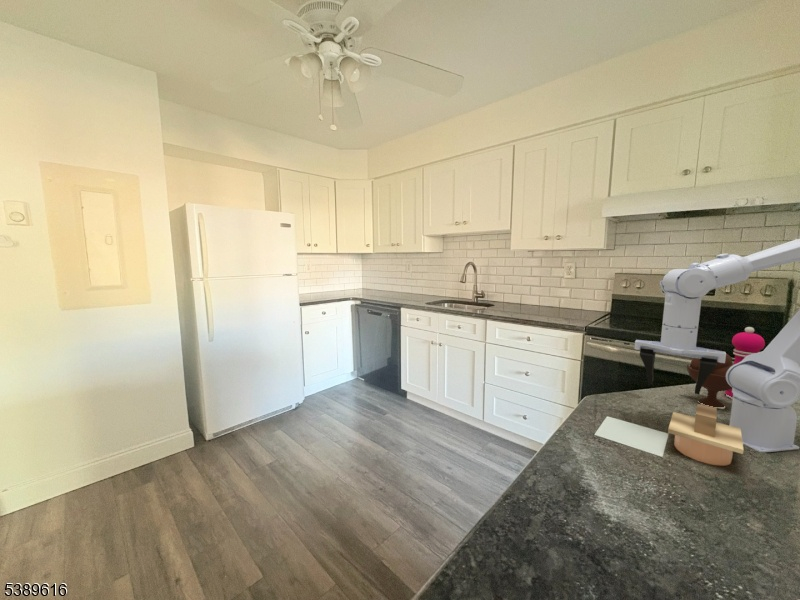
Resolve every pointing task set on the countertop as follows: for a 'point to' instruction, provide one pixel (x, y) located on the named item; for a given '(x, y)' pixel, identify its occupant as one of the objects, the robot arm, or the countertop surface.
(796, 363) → the robot arm
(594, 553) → the countertop surface
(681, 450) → the bowl
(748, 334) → the pepper mill
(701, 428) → the lid
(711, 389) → the ice cream bowl
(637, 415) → the countertop surface
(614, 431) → the mat
